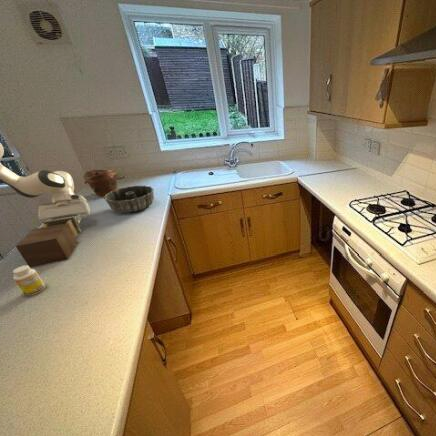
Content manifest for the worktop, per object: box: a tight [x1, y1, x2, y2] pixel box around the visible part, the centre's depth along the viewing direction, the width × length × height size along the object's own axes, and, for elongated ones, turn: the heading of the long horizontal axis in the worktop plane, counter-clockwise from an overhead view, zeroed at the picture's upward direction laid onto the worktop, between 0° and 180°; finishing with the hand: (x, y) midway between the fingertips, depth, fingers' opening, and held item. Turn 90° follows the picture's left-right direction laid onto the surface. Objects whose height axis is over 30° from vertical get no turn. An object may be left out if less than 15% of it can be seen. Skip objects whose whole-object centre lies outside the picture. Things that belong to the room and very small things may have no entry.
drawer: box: [40, 216, 82, 239], centre depth 116 cm, size 18×12×9 cm, turn 25°
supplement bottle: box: [12, 264, 46, 296], centre depth 86 cm, size 6×6×10 cm
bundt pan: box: [103, 185, 155, 214], centre depth 150 cm, size 26×26×10 cm
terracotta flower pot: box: [83, 169, 118, 198], centre depth 170 cm, size 18×20×18 cm
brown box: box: [15, 223, 79, 268], centre depth 106 cm, size 15×13×11 cm
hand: (66, 225), depth 122 cm, fingers open, 8 cm apart
